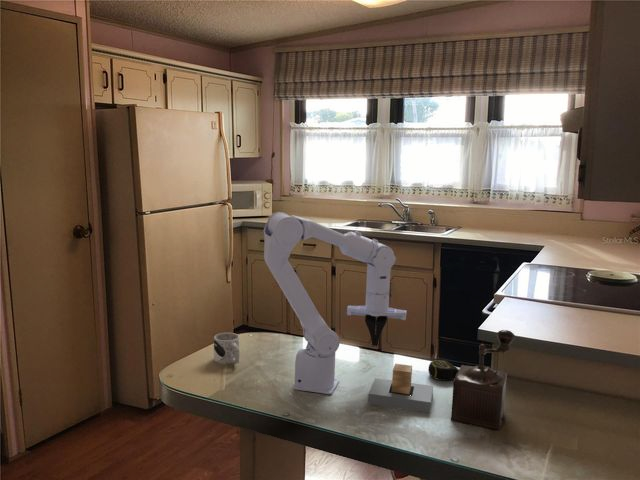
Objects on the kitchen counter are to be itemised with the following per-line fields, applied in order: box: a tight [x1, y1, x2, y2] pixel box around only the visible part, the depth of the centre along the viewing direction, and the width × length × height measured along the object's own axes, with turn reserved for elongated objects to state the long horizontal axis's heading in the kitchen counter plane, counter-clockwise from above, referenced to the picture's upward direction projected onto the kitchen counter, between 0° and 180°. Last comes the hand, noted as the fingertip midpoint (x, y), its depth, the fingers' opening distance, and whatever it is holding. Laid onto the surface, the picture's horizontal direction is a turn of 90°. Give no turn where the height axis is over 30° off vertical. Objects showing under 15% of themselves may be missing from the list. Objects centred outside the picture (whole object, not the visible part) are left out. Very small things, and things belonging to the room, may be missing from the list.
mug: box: [213, 332, 240, 366], centre depth 147 cm, size 10×7×7 cm
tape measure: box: [427, 359, 459, 381], centre depth 142 cm, size 7×7×4 cm
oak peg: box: [391, 363, 413, 396], centre depth 128 cm, size 4×4×8 cm
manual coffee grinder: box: [450, 329, 516, 432], centre depth 123 cm, size 16×11×18 cm
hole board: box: [367, 377, 434, 414], centre depth 128 cm, size 14×9×2 cm, turn 75°
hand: (375, 344), depth 138 cm, fingers closed
